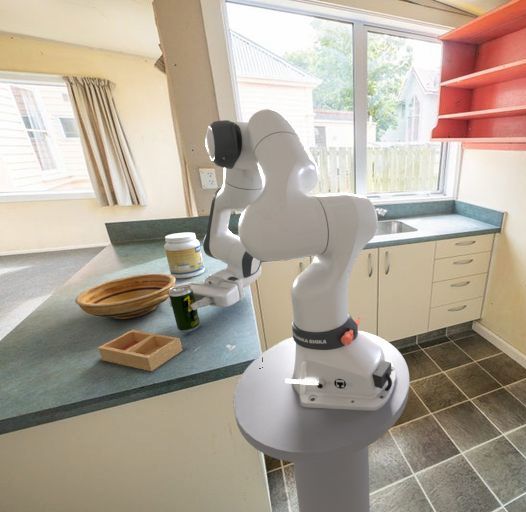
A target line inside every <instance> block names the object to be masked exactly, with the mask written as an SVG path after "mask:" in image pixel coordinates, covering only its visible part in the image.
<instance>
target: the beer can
mask: <svg viewBox="0 0 526 512" xmlns="http://www.w3.org/2000/svg"><path fill="white" fill-rule="evenodd" d="M176 286H177V287H174V288H172V289H170V290H169V292H170V293H169V301H171V304H172V307H171V308H172V313H173V315H174V320H175V323H176V328H177V330H178V331H180V332H181V333H188V332H192V331H194V330H197V329H198V328H199V327H200V325H201V321H200V317H199V312H198V309H196V310H191V309H189V304H190V303H192V302H193V301H195V298H194V294H193V290H192V288H191V286H190V285H181V286H178V285H176Z"/></svg>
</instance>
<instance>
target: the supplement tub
mask: <svg viewBox="0 0 526 512" xmlns="http://www.w3.org/2000/svg"><path fill="white" fill-rule="evenodd" d="M164 241H165V244H164V245H163V247H164V248H163V249H164V252H165V256H166V260H167V263H168V268H169V273H170V274H169V275H171V276H173V277H174V278H175V279H188V278H193V277H196V276H199V275H201V274H203V273H204V272H205V269H206V268H205V264H204V259H203V253H202V248H201V244H200V241H199V240H198V239H197V236H196V233H195V232H177V233H172V234H171V233H170V234H167V235H165V236H164Z"/></svg>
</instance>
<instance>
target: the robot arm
mask: <svg viewBox="0 0 526 512" xmlns="http://www.w3.org/2000/svg"><path fill="white" fill-rule="evenodd" d="M204 139H205V140H204V141H205V148H206V152H207V154H208V156H209V159H210V161H212V162H213V163H214V165H215V166H217V167H219V168H223V181H222V186H221V187H220V188H217V189H216V190H215V192H214V194H213V196H212V200H211V204H210V211H209V218H208V224H207V229H206V234H205V236H204V238H203V241H202V246H203V247H202V249H203V252H204V254H205V255H206V256H208V257H210V258H212V259H215V260H218V261H221V262H222V263H225V264H226V265H227V267H226V268H224V269H221V270H218V271H216V272H213V273H211V274H209V275H208V276H207V277H205V279H204V281H195V280H193V281H192V280H191V281H187V282H184V283H181V284H177V285H175V287H177V286H181V285H190V286H191V288H192V290H193V294H194V298H195V301H193V302H192V303H190V304H189V309H191V310H196V309H197V310H198V309H200V308H205V307H209V306H211V307H219V308H227V307H230V306H233V305H234V304H236V303H237V302H239V301H242V300H243V299H244V298H245V289H246V288H248V287H249V286H251V285H252V284H254V283H255V281H257V280H258V279H259V277H261V275H262V266H261V265H262V262H287V261H293V260H298V259H303V258H307V257H313V259H312V260H311V262H310V264H309V265H308V266H307V267H306V268H305V269H304V270H303V271H302V272H300V273H299V274H298V275H297V276H296V277H295V278H294V280H293V282H292V285H291V288H290V299H291V307H292V321H291V328H292V329H291V331H292V337H293V339H294V341H295V344H296V355H295V367H294V372H293V376H292V379H286V380H285V382H286V383H292V384H293V387H294V389H295V390H296V391H297V392H298V394H299V396H300V404H301V405H302V406H303V407H310V408H329V409H348V410H367V411H376V410H378V409H379V408H381V407H382V406H383V405H384V404H385V403H386V402H387V400H388V399H389V397H390V396H391V394H392V391H393V389H394V385H395V381H396V370H395V366H394V364H393V362H391V361H388V360H385V356H384V353H383V350H382V348H381V347H380V346H379V345H378V344H376V343H375V342H374V341H372V340H371V339H369V338H368V337H367V336H365V335H364V334H362V333H361V332H360V331H361V330H359V329H358V328H359V327H358V326H359V325H360V324H361V323H360V322H361V320H360V318H361V317H360V316H359V317H358V318H357V319H356V320H354V319H353V318H352V315H351V313H350V311H349V288H350V279H351V275H352V271H353V269H354V267H355V264H356V262H357V260H358V257H359V256H360V254H361V252H362V250H363V249H364V248H365V247H366V246H367V244H368V243H369V242H370V241H371V240H372V239H374V237H375V235H376V234H377V233H376V232H377V231H378V225H379V220H378V219H379V218H378V213H377V210H376V207H375V205H374V203H372V201H371V200H370V199H369V198H368V197H367V196H365V195H360V194H355V193H346V192H338V193H325V194H310V193H311V192H312V191H313V190H314V188H316V186H317V183H318V180H319V169H318V166H317V163H316V162H315V159H314V157H313V156H312V154H311V152H310V150H309V148H308V146H307V145H306V143H305V140H304V139H303V138H302V136H301V134H300V133H299V131H298V130H297V129H296V126H294V124H293V123H292V122H291V121H290V120H289V119H288V118H287V117H286V116H285V115H284V114H283V113H281V112H280V111H278V110H275V109H269V108H267V109H260V110H258V111H257V112H254V113H253V114H252V116H251V117H250V118H249V120H248V122H244V121H231V120H229V119H228V120H227V119H226V120H225V119H224V120H223V119H222V120H215V121H213V122H212V123H210V124H209V125H208V127H207V131H206V134H205V138H204ZM232 211H234V212H241V214H240V217H239V220H238V226H237V233H238V235H236V234H234V233H232V231H230V229H229V224H230V217H231V214H232ZM173 288H174V287H173ZM171 289H172V288H171ZM169 293H170V292H169ZM168 304H169V307H171V308H172V304H171V300H169V301H168ZM358 330H359V331H358ZM381 398H382V399H381Z"/></svg>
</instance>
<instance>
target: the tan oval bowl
mask: <svg viewBox="0 0 526 512" xmlns="http://www.w3.org/2000/svg"><path fill="white" fill-rule="evenodd" d="M176 280H177V278H174V277H173V276H171V274H166V273H146V274H145V273H144V274H138V275H131V276H125V277H121V278H116V279H113V280H109V281H106V282H103V283H99V284H96V285H94V286H92V287H90V288H88V289H86V290H83V291H82V292H81V293H79V294H78V295H77V296H76V297H75V298H74V303H75V304H76V305H78V307H79V308H80V309H81V310H82V311H83V312H85V313H86V314H88V315H91V316H93V317H99V318H114V319H117V320H126V319H127V320H128V319H133V318H137V317H141V316H143V315H146V314H149V313H150V312H152V311H154V310H155V309H156V308H157V307H158V306H159V305H161V304H163V303H164V302H165V301H167V300H168V299H170V297H169V290H170V289H171V288H173V287H175V286H176Z"/></svg>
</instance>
